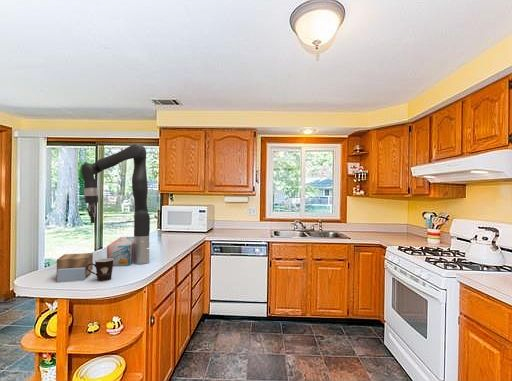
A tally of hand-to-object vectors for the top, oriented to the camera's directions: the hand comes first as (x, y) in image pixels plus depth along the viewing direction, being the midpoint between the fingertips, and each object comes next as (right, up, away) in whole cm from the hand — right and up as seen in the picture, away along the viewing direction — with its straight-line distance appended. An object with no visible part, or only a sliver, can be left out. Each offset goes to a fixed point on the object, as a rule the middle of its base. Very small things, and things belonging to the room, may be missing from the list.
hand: (92, 222), depth 197 cm
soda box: (+15, -26, +13) cm, 33 cm away
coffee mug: (+23, -26, -35) cm, 49 cm away
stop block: (+9, -25, -37) cm, 46 cm away
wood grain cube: (+6, -24, -29) cm, 38 cm away
